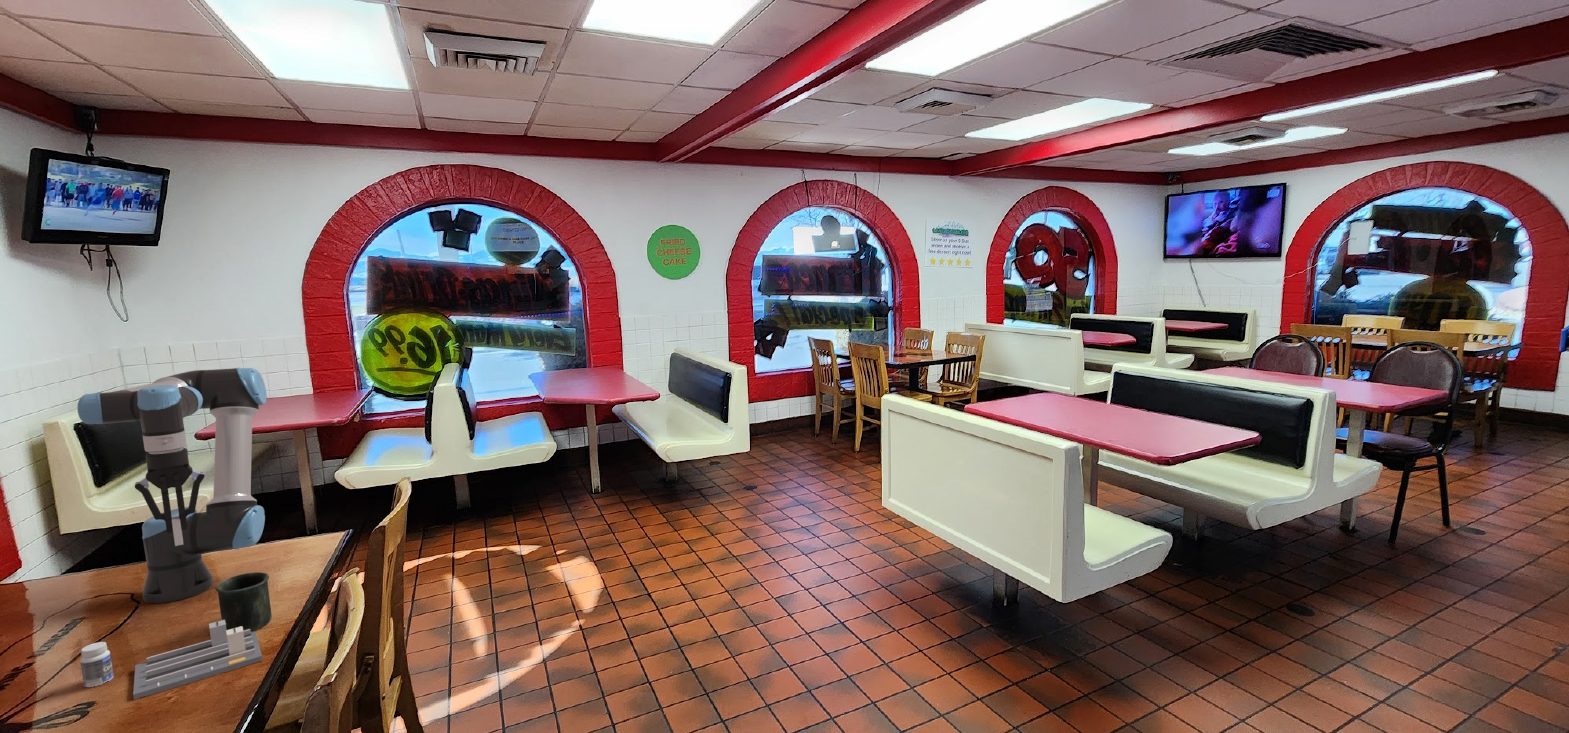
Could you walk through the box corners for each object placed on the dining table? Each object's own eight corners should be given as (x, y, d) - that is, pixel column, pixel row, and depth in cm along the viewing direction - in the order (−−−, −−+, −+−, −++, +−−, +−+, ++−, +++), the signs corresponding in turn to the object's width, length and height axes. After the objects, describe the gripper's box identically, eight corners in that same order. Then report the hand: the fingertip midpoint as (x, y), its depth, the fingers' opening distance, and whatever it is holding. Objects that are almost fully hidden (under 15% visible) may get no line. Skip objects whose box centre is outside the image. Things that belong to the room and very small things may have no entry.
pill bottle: (110, 683, 153) (105, 648, 152) (81, 690, 150) (75, 654, 149) (116, 673, 157) (111, 638, 156) (87, 679, 154) (82, 644, 153)
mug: (221, 641, 170) (215, 595, 168) (220, 619, 181) (214, 575, 179) (275, 626, 177) (270, 582, 175) (271, 606, 188) (266, 564, 186)
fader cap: (228, 652, 162) (226, 630, 161) (245, 647, 164) (242, 625, 163) (229, 657, 160) (226, 635, 159) (246, 652, 162) (243, 630, 161)
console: (136, 669, 158) (131, 642, 157) (256, 635, 172) (252, 610, 171) (133, 699, 147) (129, 670, 146) (262, 660, 161) (259, 633, 160)
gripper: (128, 458, 158) (142, 555, 162) (202, 448, 167) (214, 540, 170) (129, 452, 164) (143, 546, 167) (201, 442, 172) (212, 532, 176)
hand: (179, 543), depth 169 cm, fingers closed
